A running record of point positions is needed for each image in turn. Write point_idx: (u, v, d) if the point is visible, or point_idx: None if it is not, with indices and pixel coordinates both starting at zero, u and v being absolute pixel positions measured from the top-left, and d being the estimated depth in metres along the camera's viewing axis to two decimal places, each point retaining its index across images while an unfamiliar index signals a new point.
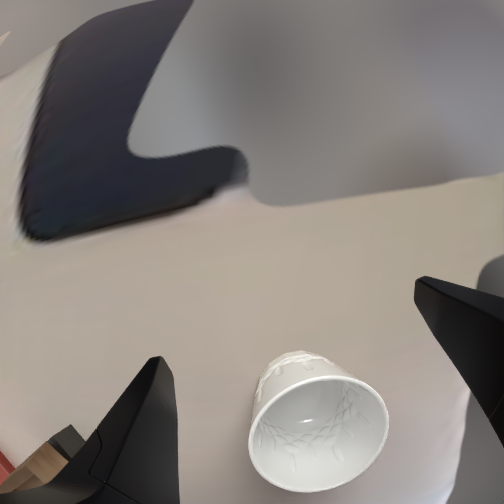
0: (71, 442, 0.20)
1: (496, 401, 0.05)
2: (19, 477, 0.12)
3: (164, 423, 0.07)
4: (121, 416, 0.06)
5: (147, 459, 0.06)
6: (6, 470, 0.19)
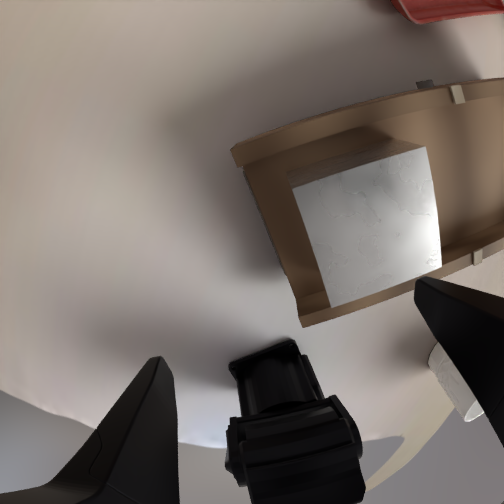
0: None
1: (497, 401, 0.05)
2: None
3: (164, 423, 0.07)
4: (121, 416, 0.06)
5: (147, 459, 0.06)
6: None
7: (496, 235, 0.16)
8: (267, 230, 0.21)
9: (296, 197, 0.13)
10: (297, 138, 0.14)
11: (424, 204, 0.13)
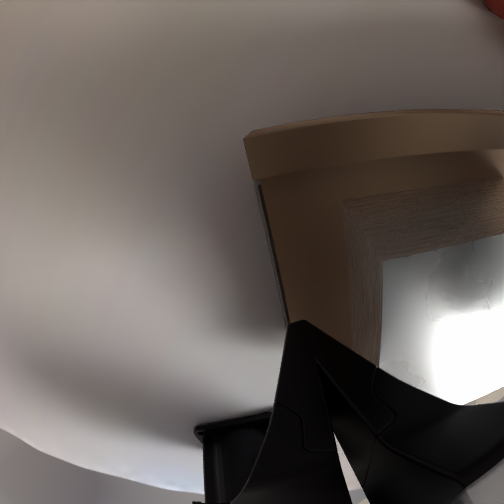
0: None
1: (363, 477, 0.05)
2: None
3: None
4: (302, 381, 0.06)
5: None
6: None
7: None
8: (277, 280, 0.13)
9: (385, 280, 0.06)
10: (387, 143, 0.06)
11: None
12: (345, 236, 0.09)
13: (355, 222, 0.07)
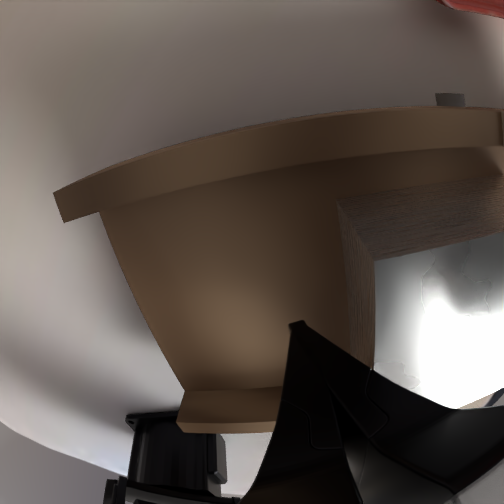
0: None
1: (358, 479, 0.05)
2: None
3: None
4: (308, 379, 0.06)
5: None
6: None
7: None
8: None
9: (378, 280, 0.05)
10: (150, 182, 0.07)
11: None
12: (341, 235, 0.09)
13: (349, 221, 0.07)
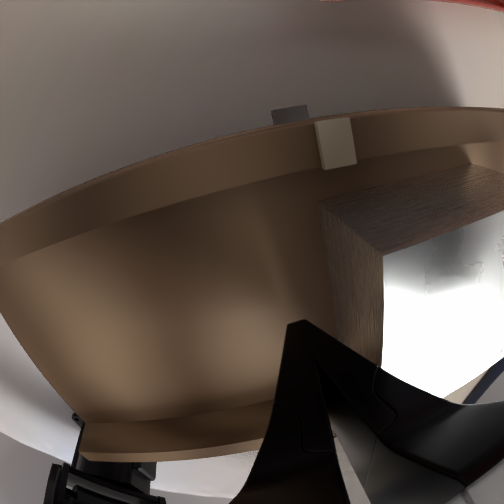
0: None
1: (364, 477, 0.05)
2: None
3: None
4: (301, 381, 0.06)
5: None
6: None
7: None
8: None
9: (386, 275, 0.05)
10: None
11: None
12: (324, 237, 0.09)
13: (340, 221, 0.07)
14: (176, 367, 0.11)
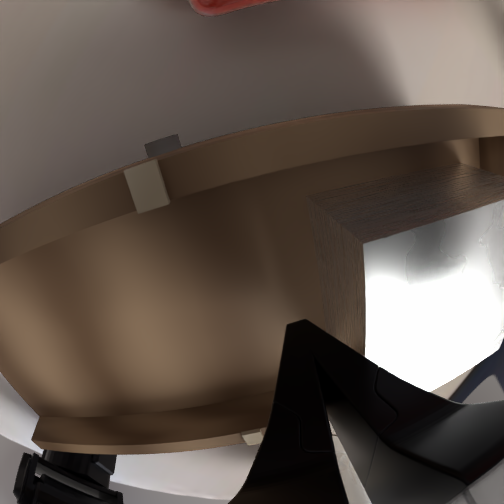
0: None
1: (365, 476, 0.05)
2: None
3: None
4: (301, 381, 0.06)
5: None
6: None
7: None
8: None
9: (367, 262, 0.06)
10: None
11: None
12: (313, 230, 0.10)
13: (326, 213, 0.08)
14: (93, 372, 0.11)
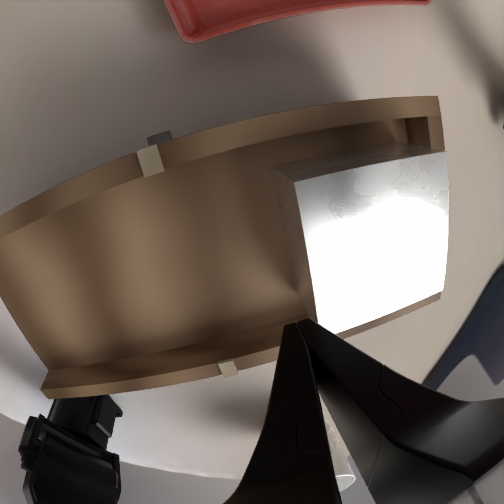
0: None
1: (368, 475, 0.05)
2: None
3: None
4: (297, 382, 0.06)
5: None
6: None
7: (270, 340, 0.16)
8: None
9: (298, 194, 0.10)
10: None
11: (437, 217, 0.11)
12: (276, 191, 0.14)
13: (279, 173, 0.12)
14: (100, 316, 0.15)
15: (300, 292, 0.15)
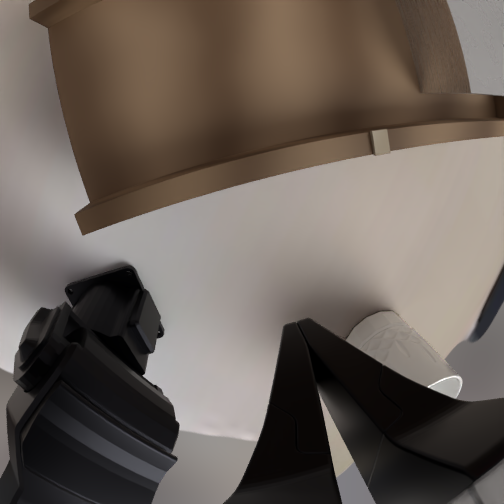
0: None
1: (369, 475, 0.05)
2: None
3: None
4: (297, 382, 0.06)
5: None
6: None
7: (412, 124, 0.12)
8: None
9: None
10: None
11: None
12: (396, 0, 0.10)
13: None
14: (211, 85, 0.12)
15: (430, 79, 0.11)
